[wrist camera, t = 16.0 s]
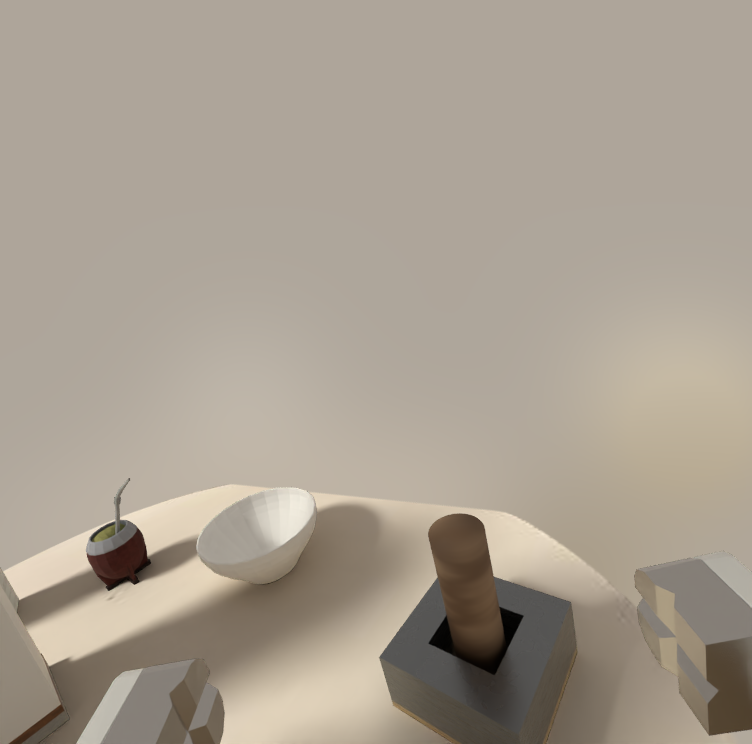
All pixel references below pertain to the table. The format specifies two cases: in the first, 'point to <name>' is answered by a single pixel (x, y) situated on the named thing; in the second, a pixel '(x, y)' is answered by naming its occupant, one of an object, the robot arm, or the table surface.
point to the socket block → (477, 687)
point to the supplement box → (8, 590)
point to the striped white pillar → (25, 684)
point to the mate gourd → (117, 549)
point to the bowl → (259, 535)
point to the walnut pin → (468, 590)
